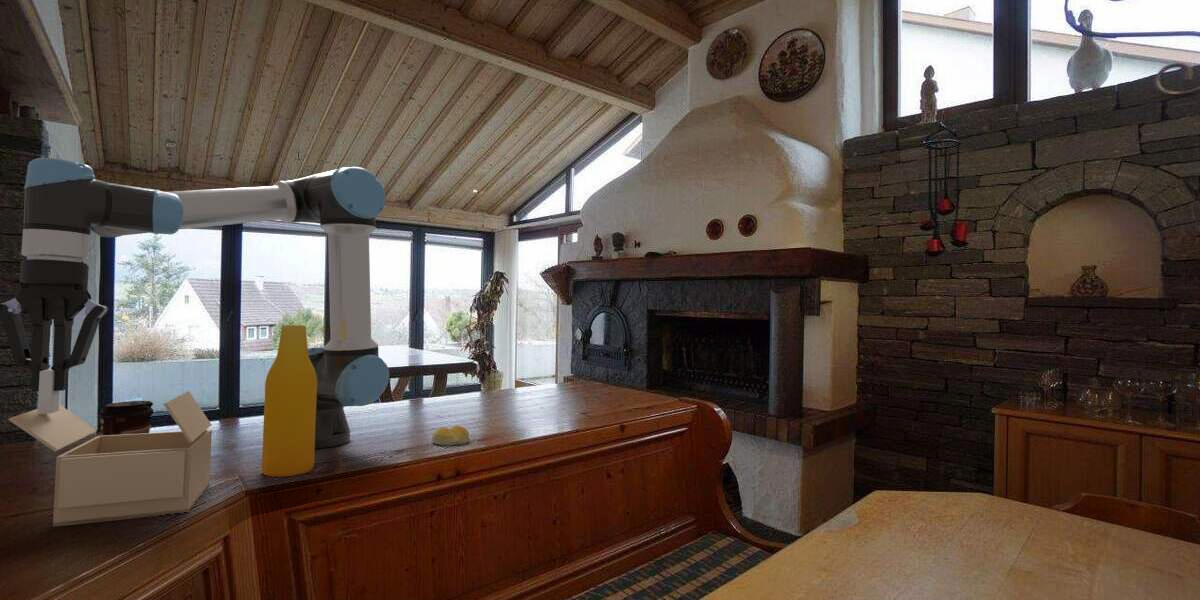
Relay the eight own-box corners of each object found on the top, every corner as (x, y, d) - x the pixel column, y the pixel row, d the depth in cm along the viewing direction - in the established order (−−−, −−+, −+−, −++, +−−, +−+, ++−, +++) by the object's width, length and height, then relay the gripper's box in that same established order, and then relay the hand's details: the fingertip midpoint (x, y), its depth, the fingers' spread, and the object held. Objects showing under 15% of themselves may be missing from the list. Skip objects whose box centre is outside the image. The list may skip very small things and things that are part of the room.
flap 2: (209, 426, 100) (211, 424, 100) (189, 442, 87) (192, 441, 87) (186, 392, 98) (188, 390, 98) (163, 404, 86) (166, 402, 86)
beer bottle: (317, 463, 116) (322, 325, 117) (310, 475, 107) (316, 326, 108) (267, 466, 113) (272, 324, 114) (255, 479, 104) (262, 325, 105)
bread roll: (428, 441, 139) (429, 425, 139) (463, 438, 144) (464, 422, 144) (436, 448, 132) (437, 431, 132) (473, 444, 137) (473, 428, 137)
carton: (210, 484, 100) (212, 428, 101) (187, 514, 86) (190, 449, 86) (96, 494, 94) (99, 434, 94) (50, 528, 79) (54, 458, 79)
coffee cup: (163, 464, 112) (167, 400, 113) (124, 476, 104) (128, 407, 104) (124, 462, 113) (128, 399, 114) (83, 473, 105) (86, 405, 105)
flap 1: (57, 402, 91) (55, 404, 91) (11, 417, 78) (8, 419, 78) (96, 430, 93) (94, 432, 93) (57, 449, 80) (55, 451, 80)
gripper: (118, 264, 92) (111, 406, 91) (12, 259, 86) (4, 410, 86) (100, 260, 85) (92, 414, 84) (-16, 255, 80) (-25, 419, 79)
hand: (48, 412), depth 85 cm, fingers closed
